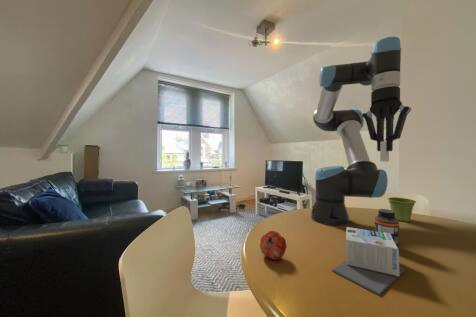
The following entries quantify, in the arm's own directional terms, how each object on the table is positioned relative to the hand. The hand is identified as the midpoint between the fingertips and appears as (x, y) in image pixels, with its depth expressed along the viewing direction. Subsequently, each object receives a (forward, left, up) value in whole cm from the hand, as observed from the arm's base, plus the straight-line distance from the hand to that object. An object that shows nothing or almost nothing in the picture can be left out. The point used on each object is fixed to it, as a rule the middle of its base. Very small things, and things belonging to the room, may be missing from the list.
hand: (384, 161), depth 64 cm
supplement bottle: (+2, -4, -27) cm, 27 cm away
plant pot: (-4, +30, -27) cm, 40 cm away
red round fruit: (-14, -37, -27) cm, 48 cm away
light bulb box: (-2, -21, -23) cm, 31 cm away
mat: (+4, -22, -26) cm, 35 cm away
